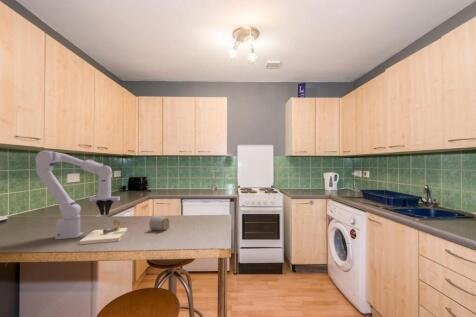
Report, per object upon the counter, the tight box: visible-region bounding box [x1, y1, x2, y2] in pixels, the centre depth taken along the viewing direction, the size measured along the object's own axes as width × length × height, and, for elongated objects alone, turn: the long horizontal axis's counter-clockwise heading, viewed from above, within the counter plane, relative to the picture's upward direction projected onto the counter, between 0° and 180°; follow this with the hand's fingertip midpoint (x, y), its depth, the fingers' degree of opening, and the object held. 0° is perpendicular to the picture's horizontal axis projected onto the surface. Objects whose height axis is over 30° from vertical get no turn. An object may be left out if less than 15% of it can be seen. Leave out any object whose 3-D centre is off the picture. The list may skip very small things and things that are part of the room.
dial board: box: [79, 227, 128, 245], centre depth 115 cm, size 16×18×2 cm
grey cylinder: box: [148, 214, 171, 232], centre depth 128 cm, size 11×8×8 cm
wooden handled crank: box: [102, 218, 121, 234], centre depth 118 cm, size 9×2×5 cm, turn 164°
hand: (104, 214), depth 122 cm, fingers closed
